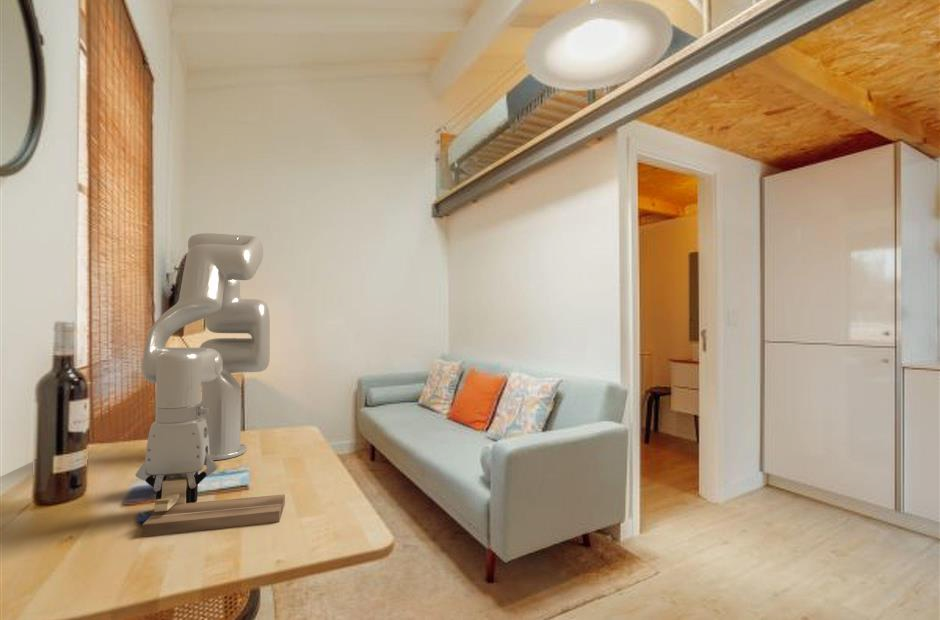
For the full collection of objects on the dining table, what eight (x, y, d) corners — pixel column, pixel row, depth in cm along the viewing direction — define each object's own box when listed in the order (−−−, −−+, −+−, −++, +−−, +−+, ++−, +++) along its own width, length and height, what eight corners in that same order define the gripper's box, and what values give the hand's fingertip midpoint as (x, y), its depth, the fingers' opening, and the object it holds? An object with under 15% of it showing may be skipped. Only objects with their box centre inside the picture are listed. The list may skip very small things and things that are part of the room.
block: (168, 507, 89) (170, 474, 90) (191, 505, 90) (192, 473, 91) (147, 525, 79) (149, 489, 80) (172, 523, 80) (174, 487, 81)
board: (160, 516, 85) (160, 505, 85) (284, 504, 91) (284, 494, 91) (142, 536, 77) (142, 524, 77) (279, 521, 83) (279, 510, 83)
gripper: (230, 408, 94) (228, 496, 94) (137, 412, 90) (136, 504, 89) (220, 416, 87) (219, 511, 87) (119, 420, 82) (117, 521, 82)
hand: (177, 506), depth 88 cm, fingers closed on block, 3 cm apart
